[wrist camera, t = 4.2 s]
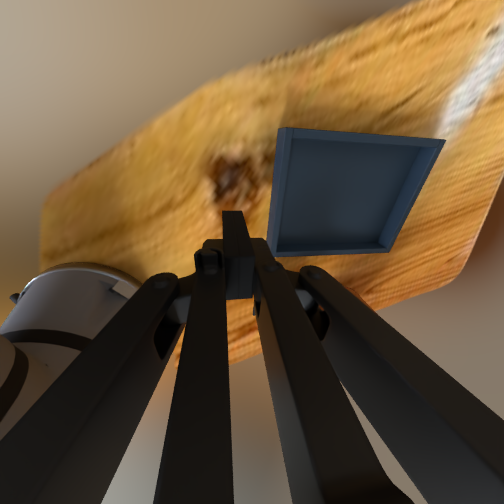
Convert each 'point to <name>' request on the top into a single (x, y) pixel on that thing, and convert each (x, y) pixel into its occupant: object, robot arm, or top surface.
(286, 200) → the tray
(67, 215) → the top surface
